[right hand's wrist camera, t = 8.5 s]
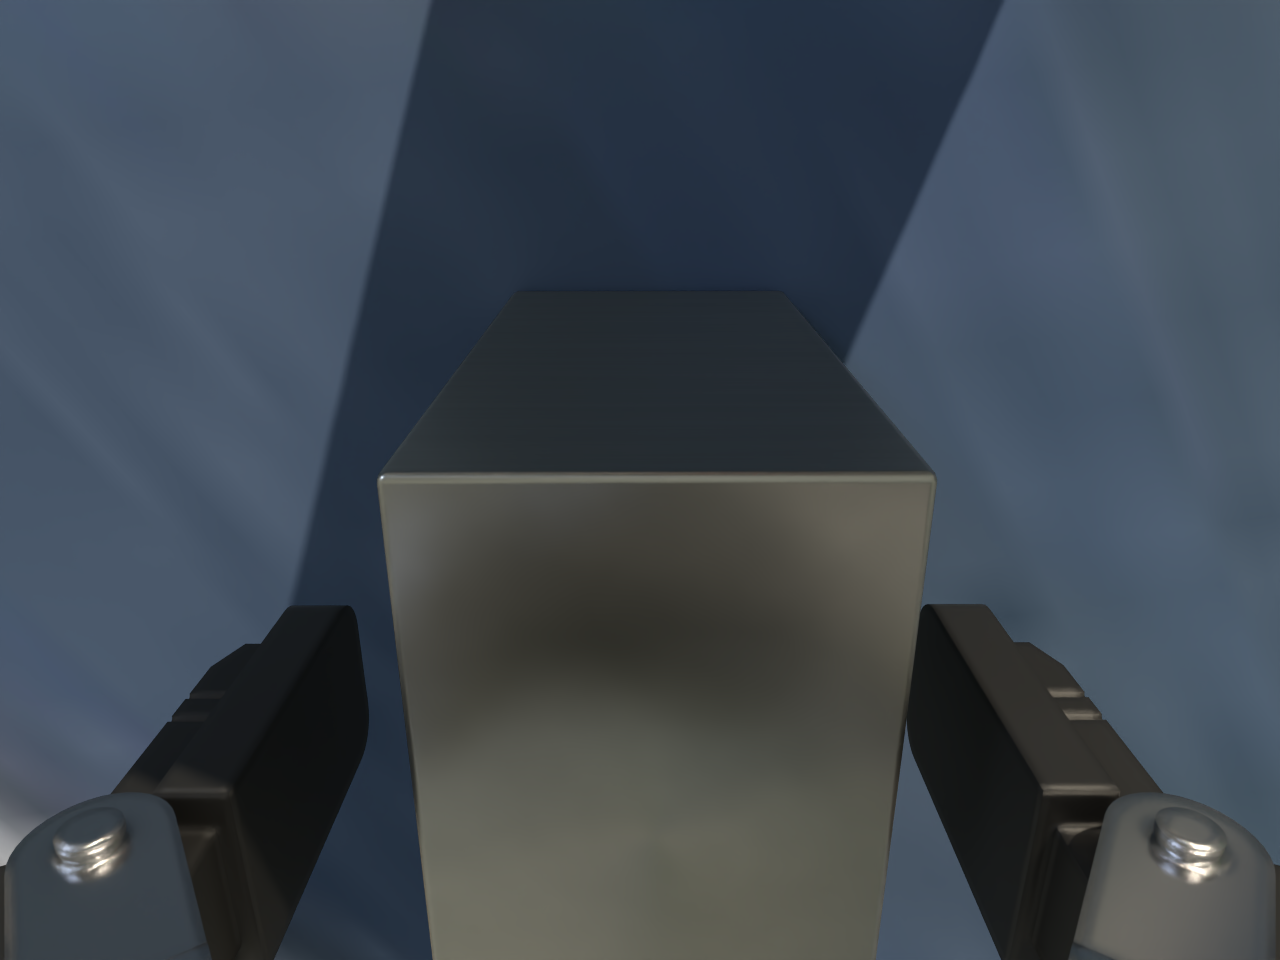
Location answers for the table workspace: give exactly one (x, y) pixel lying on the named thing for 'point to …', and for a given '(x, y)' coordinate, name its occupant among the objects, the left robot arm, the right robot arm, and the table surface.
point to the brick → (655, 633)
